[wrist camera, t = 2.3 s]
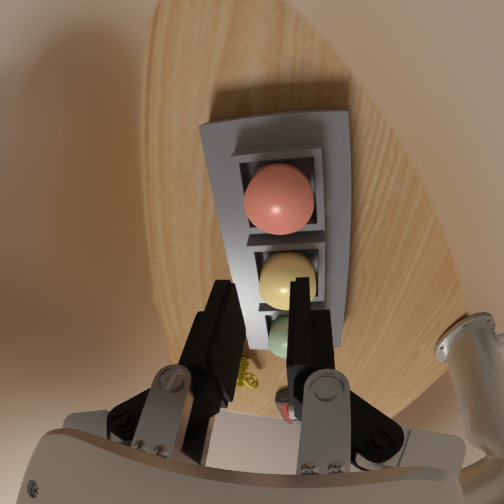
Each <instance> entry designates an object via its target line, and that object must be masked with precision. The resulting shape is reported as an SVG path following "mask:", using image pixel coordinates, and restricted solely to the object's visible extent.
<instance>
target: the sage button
mask: <svg viewBox="0 0 504 504" xmlns="http://www.w3.org/2000/svg"><path fill="white" fill-rule="evenodd" d="M288 322H289V315H281V316H278V317H277V318H275V319H274V320H273V321H272V323H271V326H270V335H269V343H268V346H269V349H270V351H271V352H272V353H274V354H275V355H277V356H279V357H282V358H286V357H287V340H288Z"/></svg>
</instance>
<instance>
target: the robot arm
mask: <svg viewBox="0 0 504 504" xmlns="http://www.w3.org/2000/svg"><path fill="white" fill-rule="evenodd" d="M494 329H495V321H494V319H493V317H492V315H491V314H489V313H485V312H482V313H476V314H473V315H470V316H468V317H466V318H464V319H462V320H461V321H459V322H457V323H456V324H455V325H453V326H452V327H451V328H450V329H449V330H447V331H446V333H445V334H444V335H443V336H442V337H441V338H440V340H439V341H438V343H437V345H436V347H435V356H436V359H437V361H438V362H440V363H442V364H447V365H448V368H449V372H450V375H451V378H452V382H453V385H454V389H455V392H456V396H457V400H458V403H459V408H460V412H461V416H462V421H463V425H464V431H465V435H466V438H467V440H468V442H469V443H470V444H471V445H473V446H474V447H476V448H478V449H480V450H482V451H483V452H485V453H486V456H485V457H484V458H482V459H480V460H479V461H477V462H475V463H473V464H471V465H469V466H467V467H465V468H462V464H463V461H464V456H465V452H466V446H465V443H464V441H463V440H462V439H461V438H460V437H458V436H456V435H449V434H442V433H436V432H430V431H425V430H419V429H414V428H412V429H411V430H409V429H404V428H401V426H399V425H398V424H397V423H396V422H395V421H393V420H392V419H390V418H389V417H387V416H386V415H384V414H383V413H382V412H380V411H379V410H377V409H376V408H374V407H373V406H371V405H370V404H369V403H367V402H366V401H364V400H363V399H362V398H360V397H359V396H357V395H356V394H355V393H353V392H352V391H351V390H350V386H349V381H348V379H347V378H346V376H345V375H344V374H342V373H341V372H339V371H337V370H335V362H334V348H333V336H332V325H331V315H330V309H324V310H311V301H310V280H309V277H296V281H290V300H289V322H288V340H287V357H286V368H287V379H288V389H289V400H290V404H294V416H295V417H296V418H297V419H298V420H299V421H300V422H301V433H300V443H299V452H298V462H297V470H296V475H280V474H261V473H250V472H240V471H232V470H224V469H218V468H211V467H206V466H205V464H206V459H207V454H208V449H209V444H210V439H211V433H212V428H213V423H214V418H215V415H216V414H217V413H219V410H220V407H221V408H227V406H228V402H232V401H233V398H234V393H235V388H236V383H237V377H238V372H239V367H240V362H241V357H242V352H243V347H244V341H245V336H246V326H245V322H244V318H243V314H242V310H241V306H240V301H239V297H238V293H237V289H236V285H235V283H231V281H230V280H216V281H215V282H214V285H213V288H212V291H211V293H210V296H209V299H208V302H207V305H206V307H205V310H204V311H199V312H198V313H197V314H196V317H195V319H194V322H193V325H192V327H191V330H190V333H189V335H188V338H187V341H186V343H185V346H184V349H183V352H182V354H181V357H180V360H179V363H178V364H171V365H168V366H165V367H164V368H162V369H160V371H158V372H157V374H156V376H155V377H154V380H153V382H152V385H151V388H149V389H147V390H145V391H144V392H142V393H140V394H138V395H137V396H135V397H133V398H131V399H129V400H127V401H125V402H123V403H121V404H119V405H117V406H116V407H114V408H113V409H112V410H111V411H108V410H99V411H90V412H79V413H72V414H70V415H68V416H67V417H66V419H65V420H64V423H63V428H59V429H54V430H50V431H49V432H47V433H45V435H44V436H43V437H42V438H41V439H40V441H39V442H38V444H37V446H36V448H35V450H34V452H33V454H32V456H31V459H30V461H29V464H28V466H27V469H26V472H25V475H24V478H23V481H22V484H21V488H20V491H19V495H18V498H17V503H16V504H504V361H503V358H502V356H501V353H500V350H503V349H504V333H503V334H499V335H496V333H495V331H494ZM350 463H351V464H352V465H354V466H355V467H356V468H358V469H360V470H364V471H362V472H352V473H351V472H350ZM461 468H462V469H461Z"/></svg>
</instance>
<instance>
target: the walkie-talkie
mask: <svg viewBox="0 0 504 504" xmlns="http://www.w3.org/2000/svg"><path fill="white" fill-rule="evenodd" d="M275 403H276V405H277V407H278V409H279V411H280V412H281V414H282V417H283V418H284V420H285V421H286V422H288V423H301V422H300V421H299V420H298V419H297V418H296V417H295V416H294V404H290V400H289V391H287V390H283V391H279V392H276V396H275Z"/></svg>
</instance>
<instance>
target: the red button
mask: <svg viewBox="0 0 504 504" xmlns="http://www.w3.org/2000/svg"><path fill="white" fill-rule="evenodd" d="M244 208H245V212H246V214H247V216H248V218H249V220H250V221H251V222H252V223H253V224H254V225H255V226H256V227H257V228H259V229H260V230H262V231H264V232H267V233H270V234H275V235H285V234H290V233H293V232H295V231H297V230H299V229H301V228H302V227H303V226H304V225H305V224H306V223H307V222H308V221H309V219H310V217H311V215H312V213H313V209H314V199H313V193H312V188H311V184H310V181H309V178H308V177H307V175H306V174H305V173H304V172H303V171H302V170H301V169H300V168H299V167H297V166H295V165H293V164H291V163H288V162H281V161H280V162H271V163H268V164H266V165H264V166H262V167H260V168H259V169H258V170H257V171H256V172H255V173H254V175H253V176H252V178H251V180H250V183H249V185H248V187H247V190H246V192H245V196H244Z"/></svg>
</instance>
